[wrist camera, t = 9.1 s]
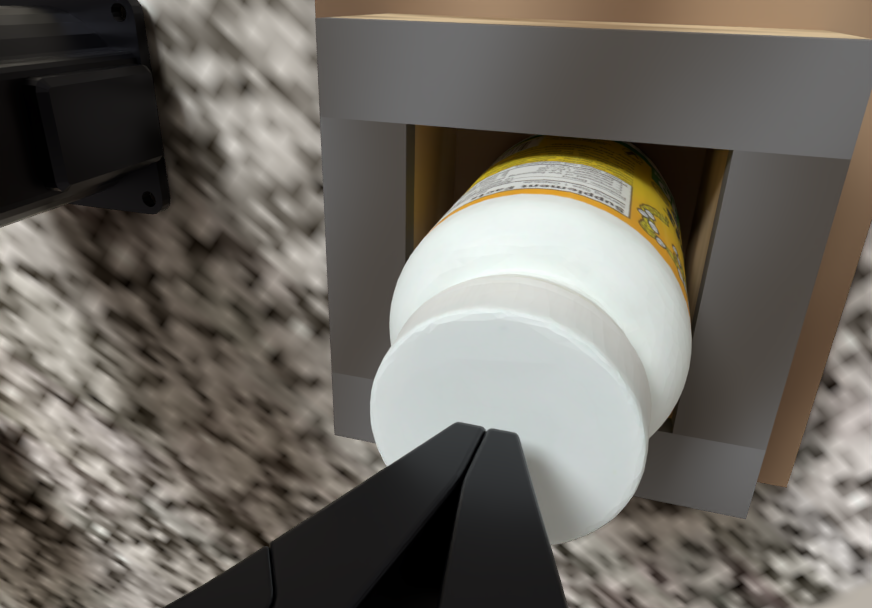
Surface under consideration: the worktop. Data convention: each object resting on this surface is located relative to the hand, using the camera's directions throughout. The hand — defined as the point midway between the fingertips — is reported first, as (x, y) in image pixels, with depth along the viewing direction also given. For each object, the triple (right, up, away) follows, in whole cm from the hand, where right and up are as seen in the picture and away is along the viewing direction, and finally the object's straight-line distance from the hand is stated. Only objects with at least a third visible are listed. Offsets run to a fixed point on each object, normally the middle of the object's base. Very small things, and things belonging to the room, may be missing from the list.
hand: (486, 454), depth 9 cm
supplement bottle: (+3, +4, +9) cm, 10 cm away
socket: (+3, +4, +10) cm, 11 cm away
